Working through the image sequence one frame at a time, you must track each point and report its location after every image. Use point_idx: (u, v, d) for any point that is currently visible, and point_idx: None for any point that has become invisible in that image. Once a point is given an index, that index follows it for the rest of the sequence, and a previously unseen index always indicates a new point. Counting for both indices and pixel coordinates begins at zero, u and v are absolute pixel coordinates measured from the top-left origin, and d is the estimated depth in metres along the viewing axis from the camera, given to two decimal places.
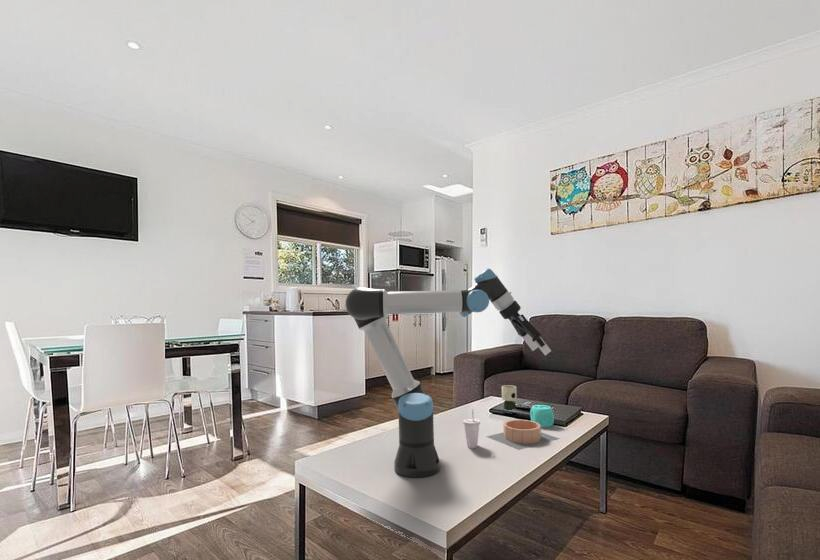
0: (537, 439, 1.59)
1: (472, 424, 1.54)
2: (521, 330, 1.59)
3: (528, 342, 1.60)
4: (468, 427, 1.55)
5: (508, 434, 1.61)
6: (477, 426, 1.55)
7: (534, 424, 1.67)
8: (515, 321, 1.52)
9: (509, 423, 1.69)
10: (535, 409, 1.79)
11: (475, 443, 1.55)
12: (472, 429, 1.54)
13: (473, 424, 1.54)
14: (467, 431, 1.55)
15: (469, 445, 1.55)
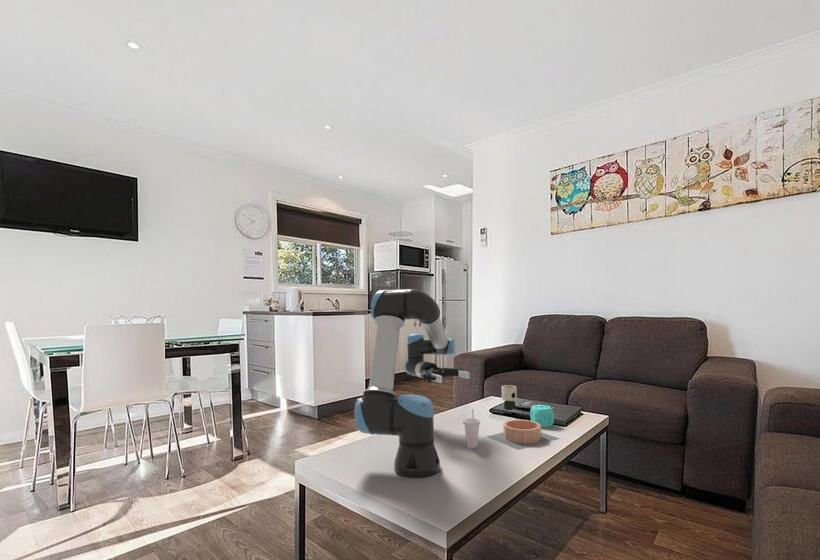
0: (537, 439, 1.59)
1: (472, 424, 1.54)
2: None
3: None
4: (468, 427, 1.55)
5: (508, 434, 1.61)
6: (477, 426, 1.55)
7: (534, 424, 1.67)
8: None
9: (509, 423, 1.69)
10: (535, 409, 1.79)
11: (475, 443, 1.55)
12: (472, 429, 1.54)
13: (473, 424, 1.54)
14: (467, 431, 1.55)
15: (469, 445, 1.55)
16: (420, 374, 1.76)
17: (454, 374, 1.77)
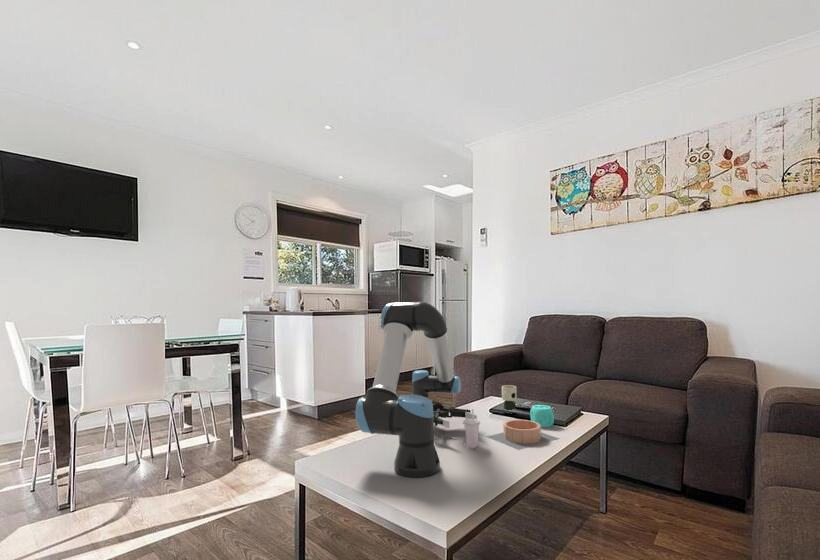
0: (537, 439, 1.59)
1: (472, 424, 1.54)
2: (438, 417, 1.68)
3: None
4: (468, 427, 1.55)
5: (508, 434, 1.61)
6: (477, 426, 1.55)
7: (534, 424, 1.67)
8: None
9: (509, 423, 1.69)
10: (535, 409, 1.79)
11: (475, 443, 1.55)
12: (472, 429, 1.54)
13: (473, 424, 1.54)
14: (467, 431, 1.55)
15: (469, 445, 1.55)
16: None
17: (461, 415, 1.73)
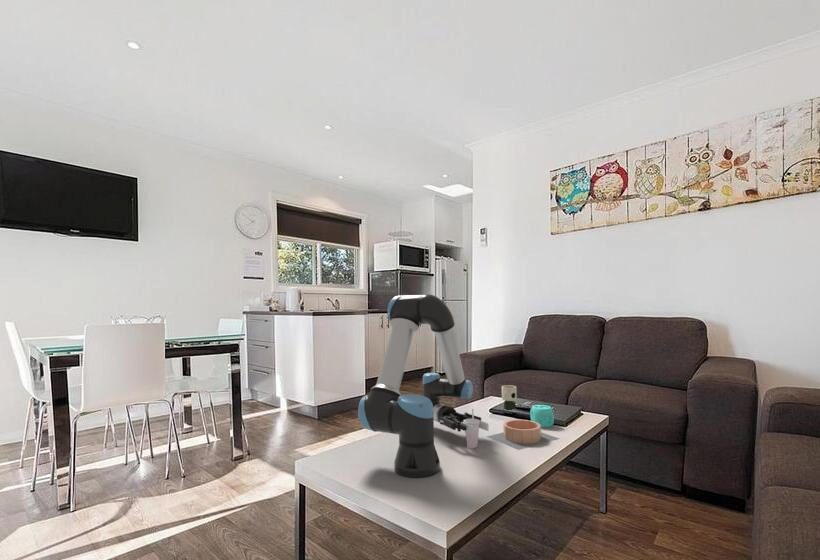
0: (537, 439, 1.59)
1: (472, 424, 1.54)
2: None
3: None
4: None
5: (508, 434, 1.61)
6: (477, 426, 1.55)
7: (534, 424, 1.67)
8: None
9: (509, 423, 1.69)
10: (535, 409, 1.79)
11: (475, 443, 1.55)
12: None
13: (473, 424, 1.54)
14: None
15: (469, 445, 1.55)
16: (440, 421, 1.63)
17: None
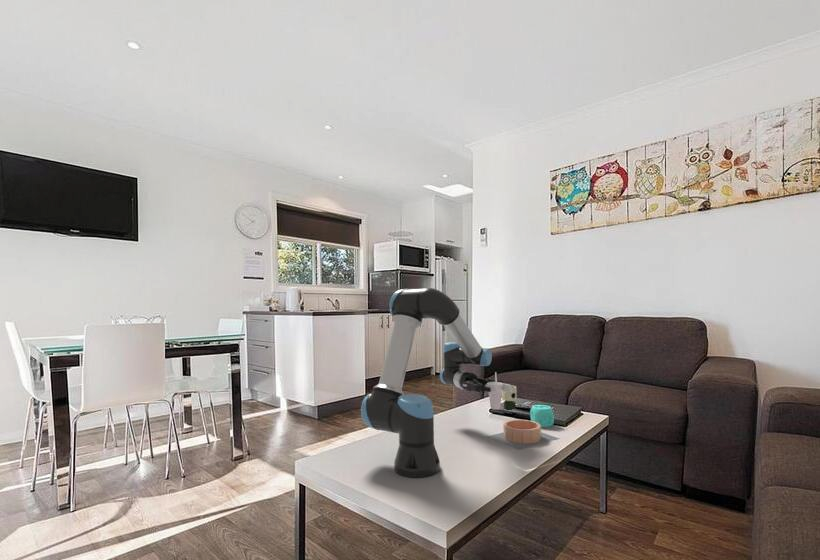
0: (537, 439, 1.59)
1: (496, 386, 1.60)
2: None
3: None
4: None
5: (508, 434, 1.61)
6: (500, 388, 1.61)
7: (534, 424, 1.67)
8: None
9: (509, 423, 1.69)
10: (535, 409, 1.79)
11: (498, 404, 1.61)
12: None
13: (497, 386, 1.60)
14: None
15: (492, 406, 1.62)
16: (464, 385, 1.69)
17: None
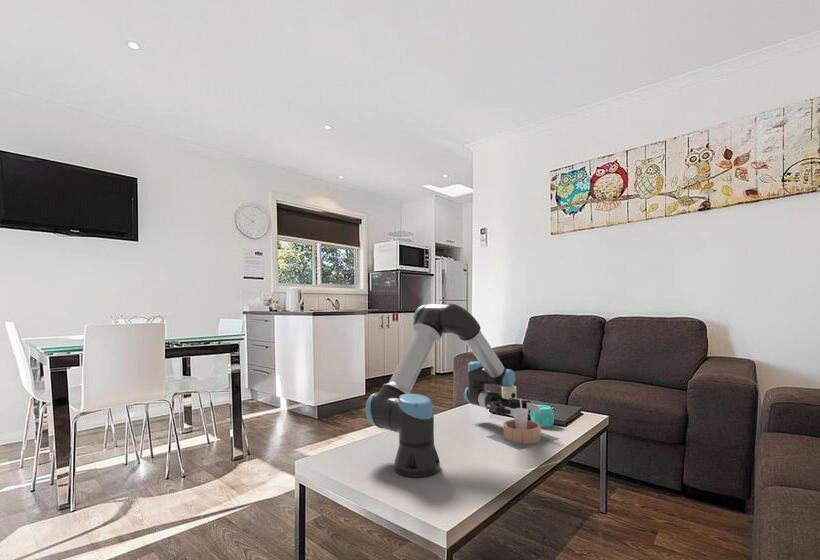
0: (537, 439, 1.59)
1: (521, 413, 1.62)
2: None
3: None
4: (518, 416, 1.62)
5: (508, 434, 1.61)
6: (526, 415, 1.63)
7: (534, 424, 1.67)
8: None
9: (509, 423, 1.69)
10: None
11: None
12: (522, 418, 1.62)
13: (522, 413, 1.62)
14: (517, 420, 1.63)
15: None
16: (488, 406, 1.72)
17: None
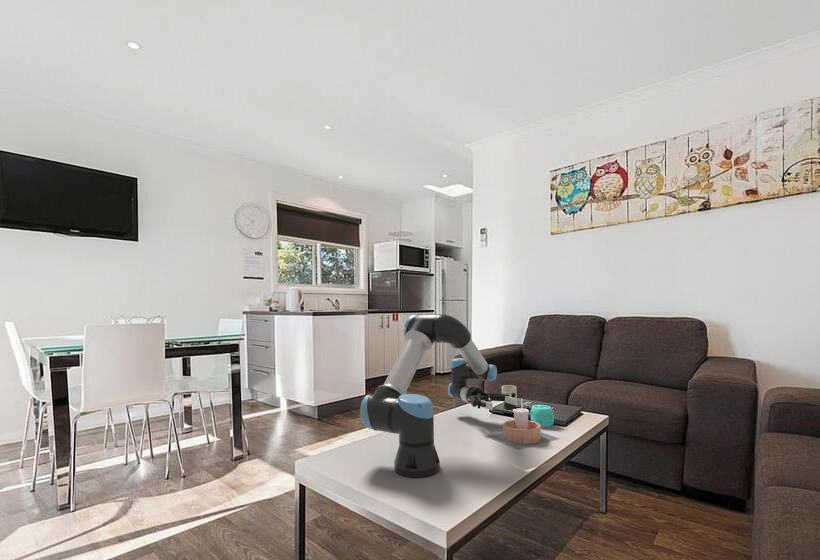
0: (537, 439, 1.59)
1: (522, 413, 1.62)
2: (480, 400, 1.79)
3: None
4: (518, 416, 1.62)
5: (508, 434, 1.61)
6: (527, 415, 1.63)
7: (534, 424, 1.67)
8: None
9: (509, 423, 1.69)
10: (535, 409, 1.79)
11: None
12: (522, 418, 1.62)
13: (523, 413, 1.62)
14: (517, 420, 1.63)
15: None
16: (468, 399, 1.83)
17: (500, 399, 1.83)
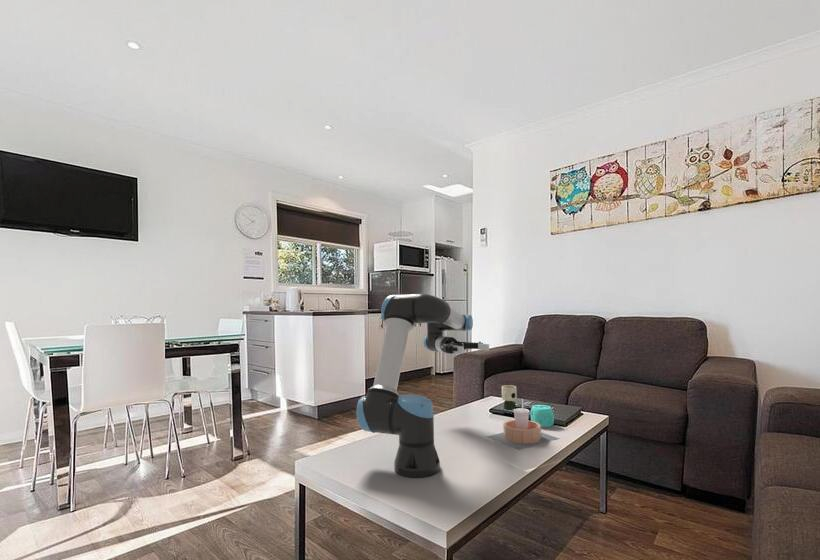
0: (537, 439, 1.59)
1: (523, 413, 1.62)
2: None
3: None
4: (519, 416, 1.62)
5: (508, 434, 1.61)
6: (527, 415, 1.63)
7: (534, 424, 1.67)
8: None
9: (509, 423, 1.69)
10: (535, 409, 1.79)
11: None
12: (523, 418, 1.62)
13: (524, 413, 1.62)
14: (518, 420, 1.63)
15: None
16: (441, 347, 1.84)
17: (474, 347, 1.84)
